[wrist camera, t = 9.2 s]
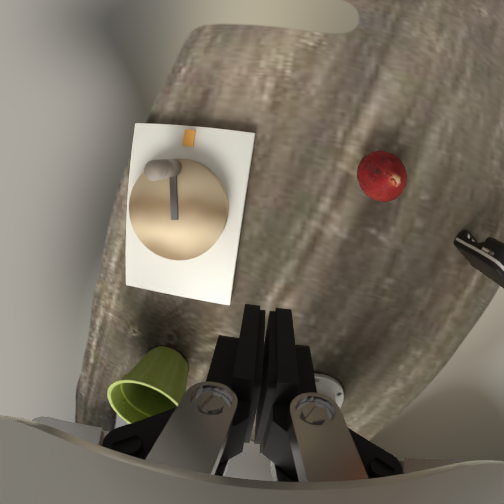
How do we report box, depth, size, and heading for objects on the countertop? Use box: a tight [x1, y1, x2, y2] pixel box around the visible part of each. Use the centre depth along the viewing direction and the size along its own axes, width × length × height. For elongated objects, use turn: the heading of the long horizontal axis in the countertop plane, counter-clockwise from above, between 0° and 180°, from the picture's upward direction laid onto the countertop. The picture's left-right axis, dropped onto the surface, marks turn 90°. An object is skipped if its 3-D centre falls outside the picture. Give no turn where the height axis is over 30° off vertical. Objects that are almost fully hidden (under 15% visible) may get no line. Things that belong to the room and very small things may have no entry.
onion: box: [357, 151, 407, 202], centre depth 30 cm, size 6×6×8 cm
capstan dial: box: [129, 159, 229, 260], centre depth 31 cm, size 12×12×8 cm
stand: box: [126, 123, 256, 305], centre depth 36 cm, size 22×15×2 cm
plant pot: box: [108, 347, 188, 424], centre depth 40 cm, size 12×12×11 cm
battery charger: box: [454, 230, 504, 288], centre depth 30 cm, size 7×4×11 cm, turn 56°
